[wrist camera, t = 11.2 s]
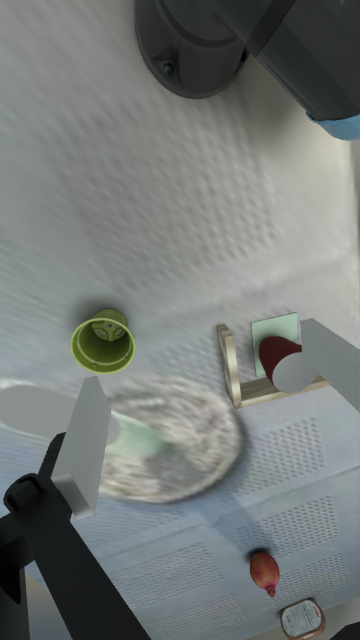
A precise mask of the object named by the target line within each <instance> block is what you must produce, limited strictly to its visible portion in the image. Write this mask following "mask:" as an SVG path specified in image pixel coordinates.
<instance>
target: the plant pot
mask: <svg viewBox="0 0 360 640" xmlns="http://www.w3.org/2000/svg"><path fill="white" fill-rule="evenodd" d="M109 324H111V327H109V326H108V325H109ZM122 330H123V332H122V333H121V335H118V334H119V333H120V332H121V331H122ZM98 331H100V332H101V333H102V334H104V335H105V336H102V335H100V334H99V332H98ZM135 348H136V346H135V340H134V337H133V335H132V333H131V332H130V330H129V329H128V324H127V320H126V318H125V317H124V315H123V314H122V313H120V312H119V311H117V310H114V309H104V310H101V311H99V312H98V313H97V314H96V315H95V316H94V317H93V318H92V319H90V320H87V321H85V322H84V323H82V324H81V325H79V326H78V327H77V328H76V330H75V331H74V333H73V334H72V337H71V340H70V350H71V353H72V356H73V358H74V359H75V361H76V362H77V363H78V364H79V365H80V366H81V367H83V368H84V369H86V370H88V371H90V372H93V373H96V374H113V373H116V372H119V371H121V370H123V369H124V368H126V367H127V366H128V365H129V364H130V362H131V361H132V359H133V357H134V354H135Z"/></svg>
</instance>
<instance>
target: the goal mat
mask: <svg viewBox="0 0 360 640" xmlns="http://www.w3.org/2000/svg"><path fill="white" fill-rule="evenodd" d="M251 328H252V338H253V349H254V359H255V369H256V375H260V374H264V373H265V371H264V369H263V366H262V364H261V362H260V359H259V346H260V343H261V341H262V340H263V339H265V338H266V337H269V336H281V337H284V338H286V339H288V340H290V341H292V342H294V343H296V344H298V338H297V312H295V313H291V314H286V315H282V316H278V317H274V318H269V319H265V320H261V321H257V322H252V323H251Z"/></svg>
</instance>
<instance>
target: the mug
mask: <svg viewBox="0 0 360 640" xmlns="http://www.w3.org/2000/svg"><path fill="white" fill-rule="evenodd" d="M259 359H260V362H261V364H262V366H263V369H264V371H265V373H266V376H267V377H268V379H269V380H270V382H271V383H272V384H273V385H274V387H275V388H276V389H277V390H279V391H281V392H283V393H296V392H299V391H301V390H303V389H305V388H306V387H308V386H309V385H310V384H311V383H312V382H313V381H314V379H315V377H316V375H317V373H318V372H317V371H316V370H315V369H314V368H312V367H311V366H310V365H309V364H308V363H307V362H306V361H305V360H304V359H303V358H302V345H298V344H296V343H294V342H292V341H290V340H288V339H286V338H284V337H281V336H269V337H266V338H265V339H263V340H262V341H261V343H260V346H259Z"/></svg>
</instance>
